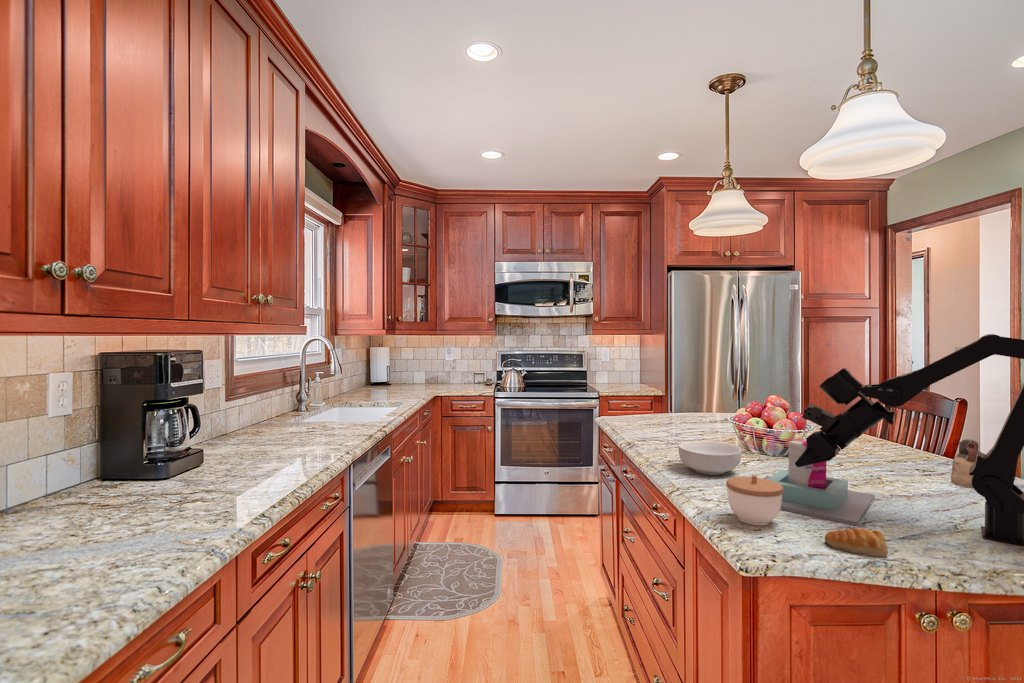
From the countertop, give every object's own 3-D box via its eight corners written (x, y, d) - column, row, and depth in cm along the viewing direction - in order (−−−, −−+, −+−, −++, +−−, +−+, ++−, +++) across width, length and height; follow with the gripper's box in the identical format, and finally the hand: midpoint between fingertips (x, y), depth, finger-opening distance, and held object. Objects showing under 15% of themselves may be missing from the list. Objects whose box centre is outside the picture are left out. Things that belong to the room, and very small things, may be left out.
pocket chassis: (874, 498, 123) (875, 480, 123) (857, 526, 105) (857, 505, 105) (766, 478, 139) (767, 462, 139) (735, 500, 121) (736, 481, 121)
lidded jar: (742, 530, 102) (742, 483, 102) (717, 511, 113) (717, 469, 113) (794, 529, 103) (794, 482, 103) (764, 510, 114) (764, 468, 114)
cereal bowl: (671, 463, 155) (671, 440, 155) (727, 464, 155) (727, 440, 154) (688, 479, 138) (688, 453, 138) (751, 480, 138) (751, 454, 138)
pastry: (830, 552, 93) (830, 531, 93) (820, 538, 99) (820, 519, 99) (891, 560, 90) (891, 538, 90) (877, 545, 96) (877, 524, 96)
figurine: (985, 484, 135) (986, 438, 134) (989, 490, 129) (990, 443, 129) (949, 479, 139) (950, 435, 139) (952, 485, 133) (952, 439, 133)
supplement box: (804, 495, 118) (804, 446, 118) (787, 488, 124) (787, 440, 124) (827, 494, 119) (827, 445, 119) (809, 486, 125) (809, 439, 125)
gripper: (834, 390, 126) (785, 430, 133) (817, 397, 112) (762, 441, 119) (873, 426, 121) (819, 465, 128) (860, 438, 107) (800, 481, 114)
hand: (800, 462), depth 123 cm, fingers closed on supplement box, 8 cm apart
